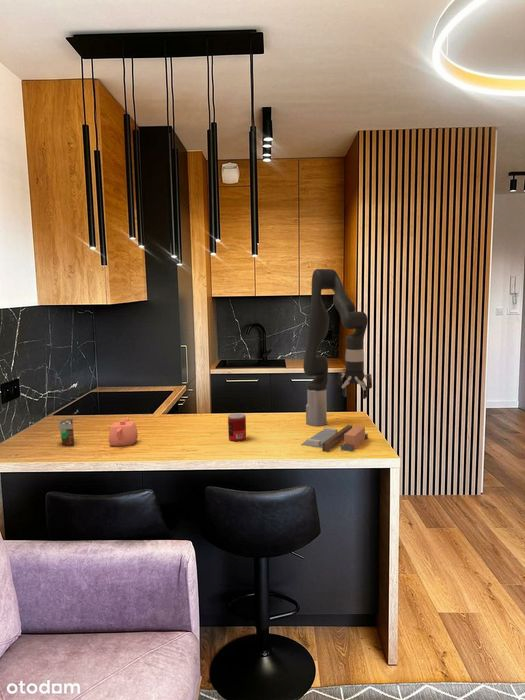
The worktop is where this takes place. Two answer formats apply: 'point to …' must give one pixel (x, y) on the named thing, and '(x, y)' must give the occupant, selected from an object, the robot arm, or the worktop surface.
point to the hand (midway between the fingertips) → (354, 397)
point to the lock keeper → (320, 437)
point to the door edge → (335, 439)
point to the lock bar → (355, 436)
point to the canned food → (237, 427)
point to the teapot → (123, 433)
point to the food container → (67, 432)
